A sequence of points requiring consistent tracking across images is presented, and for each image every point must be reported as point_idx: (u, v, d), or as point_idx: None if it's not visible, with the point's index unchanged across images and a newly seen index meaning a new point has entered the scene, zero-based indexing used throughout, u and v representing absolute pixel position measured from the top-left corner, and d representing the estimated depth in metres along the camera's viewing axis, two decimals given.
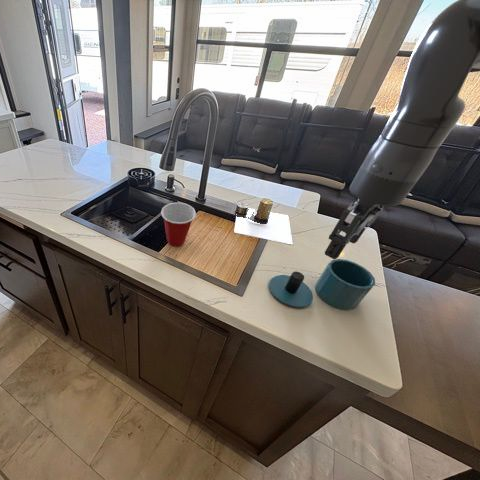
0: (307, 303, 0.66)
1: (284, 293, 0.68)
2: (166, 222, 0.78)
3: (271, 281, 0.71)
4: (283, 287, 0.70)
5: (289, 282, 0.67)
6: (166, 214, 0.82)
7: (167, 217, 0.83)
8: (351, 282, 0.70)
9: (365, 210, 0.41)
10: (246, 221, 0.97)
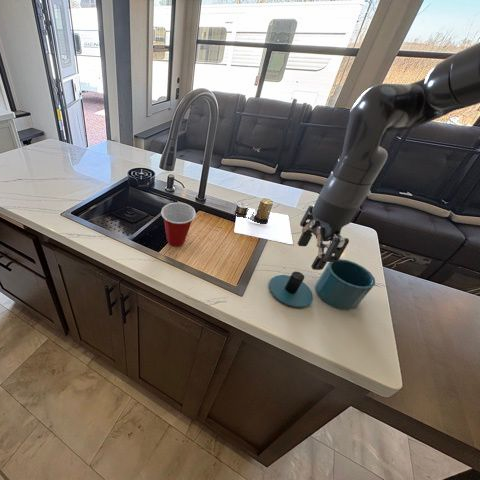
0: (307, 303, 0.66)
1: (284, 293, 0.68)
2: (166, 222, 0.78)
3: (271, 281, 0.71)
4: (283, 287, 0.70)
5: (289, 282, 0.67)
6: (166, 214, 0.82)
7: (167, 217, 0.83)
8: (351, 282, 0.70)
9: (340, 231, 0.52)
10: (246, 221, 0.97)
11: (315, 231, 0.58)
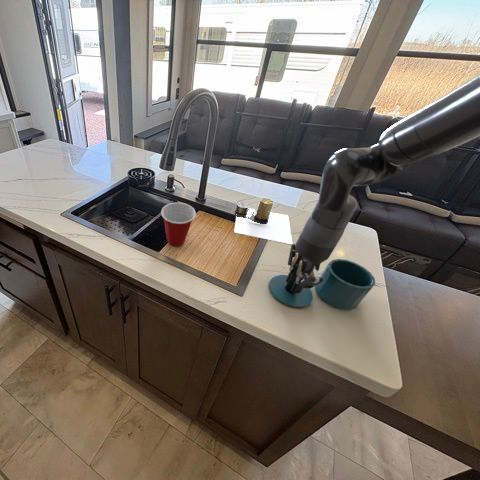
0: (307, 303, 0.66)
1: (284, 293, 0.68)
2: (166, 222, 0.78)
3: (271, 281, 0.71)
4: (283, 287, 0.70)
5: (289, 282, 0.67)
6: (166, 214, 0.82)
7: (167, 217, 0.83)
8: (351, 282, 0.70)
9: (318, 269, 0.59)
10: (246, 221, 0.97)
11: (298, 263, 0.64)
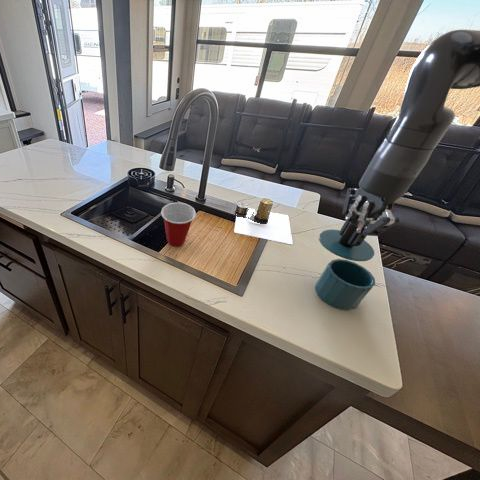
0: (369, 257, 0.55)
1: (339, 247, 0.58)
2: (166, 222, 0.78)
3: (321, 235, 0.61)
4: (337, 241, 0.59)
5: (346, 233, 0.57)
6: (166, 214, 0.82)
7: (167, 217, 0.83)
8: (351, 282, 0.70)
9: (392, 208, 0.48)
10: (246, 221, 0.97)
11: (361, 208, 0.54)
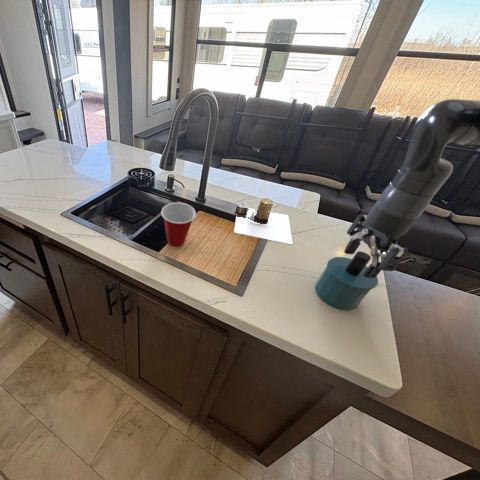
0: (373, 285, 0.61)
1: (346, 275, 0.63)
2: (166, 222, 0.78)
3: (329, 263, 0.67)
4: (343, 269, 0.65)
5: (352, 263, 0.62)
6: (166, 214, 0.82)
7: (167, 217, 0.83)
8: None
9: (396, 241, 0.53)
10: (246, 221, 0.97)
11: (367, 240, 0.59)
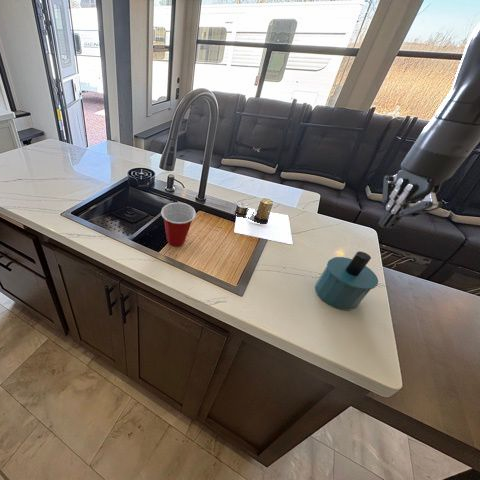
0: (373, 285, 0.61)
1: (346, 275, 0.63)
2: (166, 222, 0.78)
3: (329, 263, 0.67)
4: (343, 269, 0.65)
5: (352, 263, 0.62)
6: (166, 214, 0.82)
7: (167, 217, 0.83)
8: None
9: None
10: (246, 221, 0.97)
11: (401, 191, 0.51)
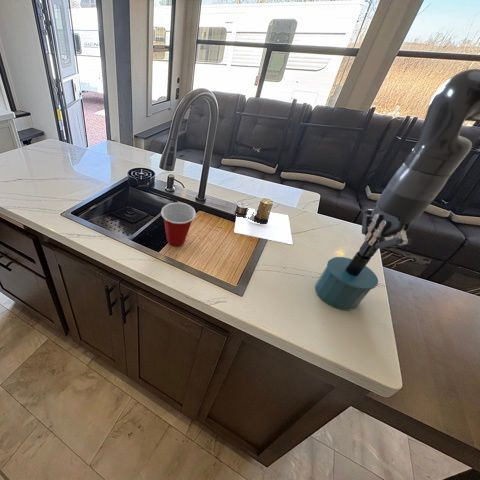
0: (373, 285, 0.61)
1: (346, 275, 0.63)
2: (166, 222, 0.78)
3: (329, 263, 0.67)
4: (343, 269, 0.65)
5: (352, 263, 0.62)
6: (166, 214, 0.82)
7: (167, 217, 0.83)
8: None
9: None
10: (246, 221, 0.97)
11: (377, 225, 0.56)
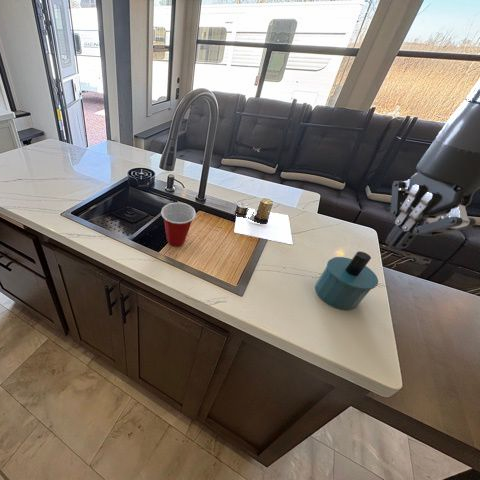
0: (373, 285, 0.61)
1: (346, 275, 0.63)
2: (166, 222, 0.78)
3: (329, 263, 0.67)
4: (343, 269, 0.65)
5: (352, 263, 0.62)
6: (166, 214, 0.82)
7: (167, 217, 0.83)
8: None
9: (469, 203, 0.34)
10: (246, 221, 0.97)
11: (416, 202, 0.39)
